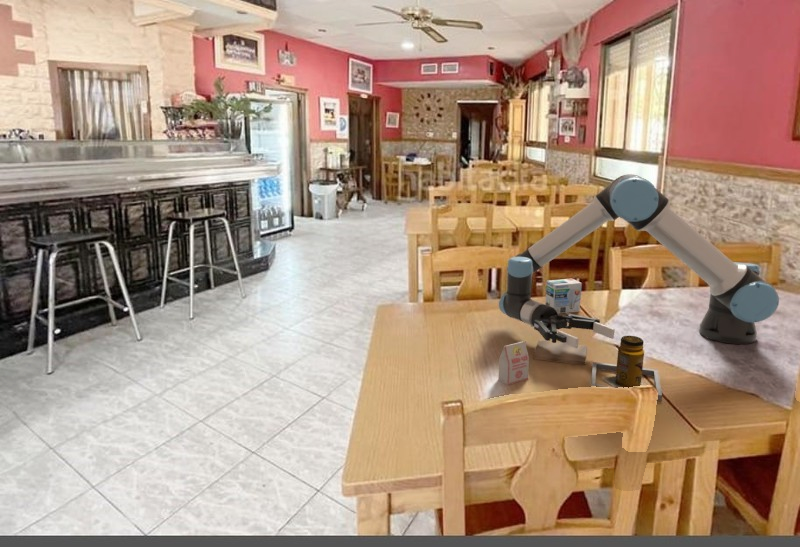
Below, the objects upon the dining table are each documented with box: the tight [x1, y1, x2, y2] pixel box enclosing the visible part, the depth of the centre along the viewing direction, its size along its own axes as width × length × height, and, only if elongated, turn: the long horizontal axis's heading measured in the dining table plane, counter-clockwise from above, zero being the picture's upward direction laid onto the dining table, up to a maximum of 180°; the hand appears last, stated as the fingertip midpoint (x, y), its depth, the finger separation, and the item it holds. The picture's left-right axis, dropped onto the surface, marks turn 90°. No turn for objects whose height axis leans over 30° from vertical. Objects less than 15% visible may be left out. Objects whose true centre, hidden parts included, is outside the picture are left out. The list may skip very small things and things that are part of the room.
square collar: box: [590, 361, 663, 402], centre depth 137 cm, size 16×15×2 cm
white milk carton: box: [498, 340, 530, 386], centre depth 139 cm, size 4×7×10 cm, turn 118°
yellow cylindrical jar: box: [601, 335, 646, 388], centre depth 136 cm, size 7×8×12 cm
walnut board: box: [532, 340, 588, 366], centre depth 156 cm, size 14×12×1 cm
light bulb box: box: [545, 278, 583, 315], centre depth 192 cm, size 11×7×11 cm, turn 104°
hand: (595, 338), depth 143 cm, fingers open, 13 cm apart
